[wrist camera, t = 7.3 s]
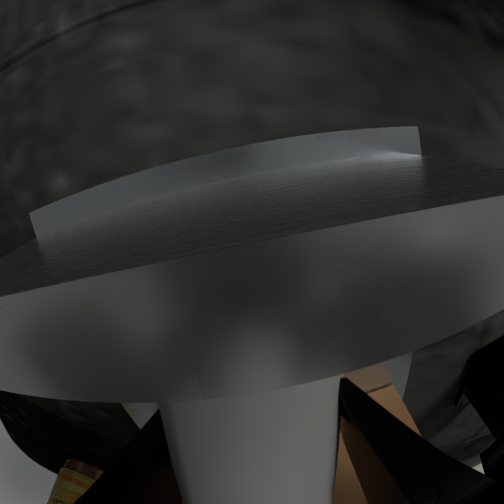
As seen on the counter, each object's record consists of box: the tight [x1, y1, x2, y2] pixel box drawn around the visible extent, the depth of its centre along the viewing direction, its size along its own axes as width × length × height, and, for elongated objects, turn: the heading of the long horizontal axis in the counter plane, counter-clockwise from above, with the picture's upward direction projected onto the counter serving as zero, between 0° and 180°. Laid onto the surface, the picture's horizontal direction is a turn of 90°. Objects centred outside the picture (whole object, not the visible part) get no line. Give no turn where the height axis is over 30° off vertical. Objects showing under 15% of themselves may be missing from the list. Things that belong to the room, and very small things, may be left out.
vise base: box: [0, 126, 504, 429], centre depth 9 cm, size 17×16×8 cm
